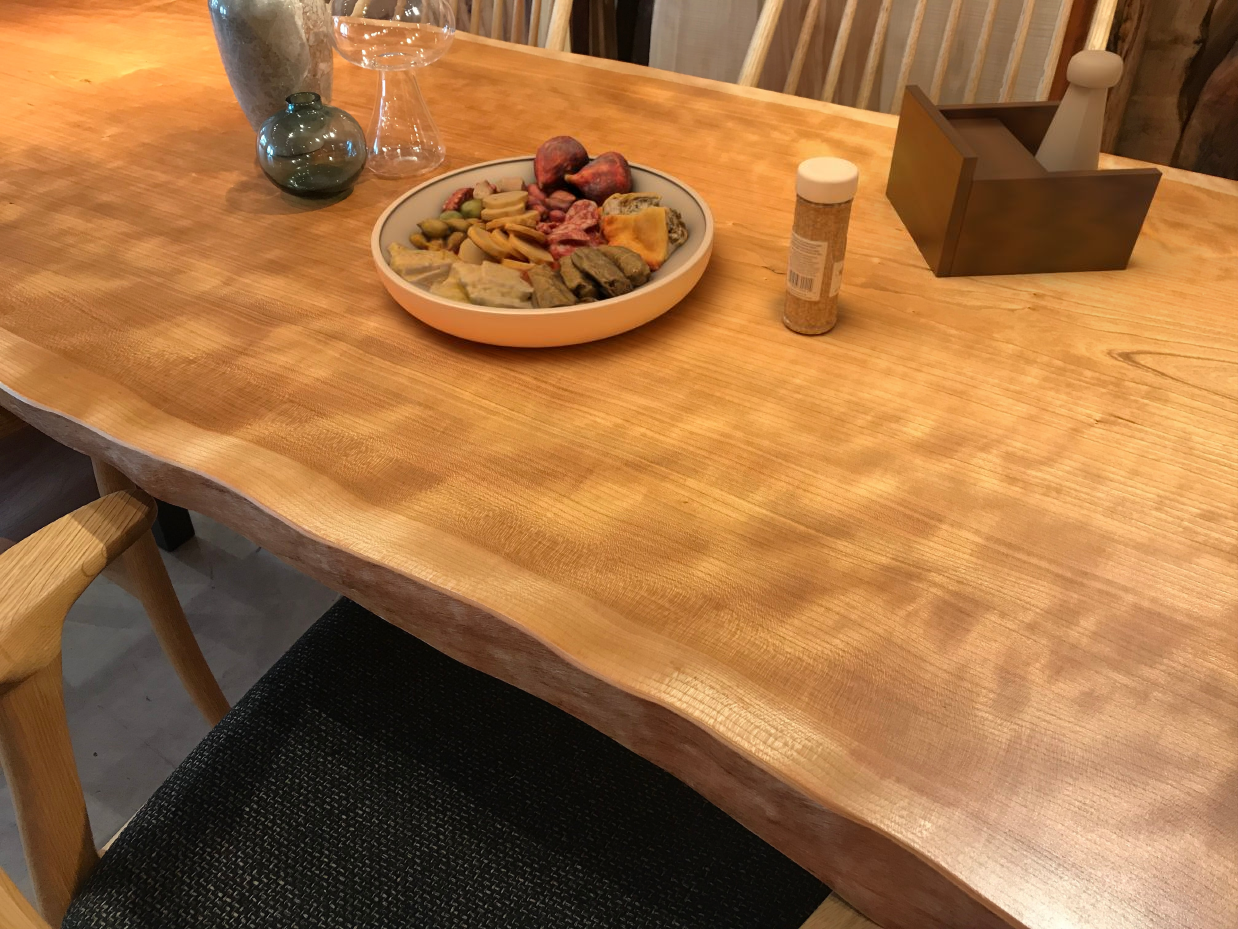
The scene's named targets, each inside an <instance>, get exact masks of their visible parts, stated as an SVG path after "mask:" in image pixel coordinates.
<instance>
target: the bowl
mask: <svg viewBox="0 0 1238 929" xmlns="http://www.w3.org/2000/svg"><path fill="white" fill-rule="evenodd" d="M714 241H715V220H714V215H713V213H712V210H711V207H709V204H708V203H707V201H705V199H704V198H703V197H702V196H701V194H700V193H698V192H697V191H696V190H695V189H694V188H693V187H691V186H689V185H688V184H687V183H685V182H684V181H682V180H680V179H679V178H677V177H675V176H673V175H671V174H669V173H668V172H667V173H666V172H664V171H661V170H658V169H656V168H654V167H651V166H648V165H644V164H641V163H637V162H634V161H633V162H632V161H629V160H627V159H626V158H625V157H624V155H622V153H619V152H617V151H610V150H609V151H606V152H604V153H601V154H600V155H598V156H597V155H589V154H588V152H587V150H586V148H585V147H584V145H583V144H582V143H581V142H580V141H578V140H577V139H576V138H574V137H573V136H571V135H558V136H555V137H552V138H550V139H548V140H545V142H544V143H542V144H541V146H540V147H539V148H538V150H537V152H536V154H532V155H531V154H530V155H520V156H512V157H505V158H504V157H503V158H499V159H493V160H489V161H483V162H479V163H475V164H471V165H467V166H464V167H460V168H457V169H454V170H451V171H448V172H446V173H442V174H440V175H438V176H436V177H435V176H434V177H432V178H430V179H428V180H425V181H424V182H422V183H420V184H418V185H417V186H415V187H412V188H411V189H409V190H408V191H406V192H405V193H403V194H402V195H401V196H399V197H398V198H397V199H395V200H394V201H393V202H392V203H391V204H390V205H388V207H387V208H386V209H385V210H384V211H382V213H381V214H380V216H379V218H378V219H377V221H376V223H375V224H374V226H373V230H372V233H371V238H370V249H371V253H372V259H373V263H374V266H375V268H376V272H377V274H378V276H379V279H380V280H381V282H382V285H384V287H385V289H386V290H387V291H388V293H389V294H390V295H391V297H392V298H393V299H394V300H395V302H397V303H398V304H399V305H400V307H402V308H403V309H405V311H407V312H408V313H409V314H411V315H412V316H413V317H415V318H416V319H418V320H419V321H421V322H423V323H424V324H426V325H428V326H430V327H432V328H434V329H436V330H439V331H440V332H441V331H442V332H443V333H446V334H449V335H452V336H454V337H458V338H461V339H464V340H468V341H472V342H477V343H481V344H482V343H483V344H487V345H493V346H503V347H513V348H551V347H554V348H555V347H563V346H572V345H579V344H584V343H590V342H594V341H599V340H603V339H606V338H610V337H613V336H617V335H620V334H624V333H627V332H628V331H629V332H630V331H631V330H634V329H636V328H638V327H640V326H643V325H645V324H647V323H650V322H651V321H653V320H655V319H657V318H658V317H660V316H662V315H663V314H665V313H667V312H668V311H669V310H670V309H671V308H673V307H675V306H676V305H677V304H679V303H680V302H681V301H682V300H683V299H684V298H685V297H686V296H687V295H688V294H689V293H690V292H691V291H692V290H693V289H694V287H695V286H696V285H697V283H698V282H699V281H700V279H701V277H702V276H703V274H704V272H705V271H706V268H707V266H708V265H709V262H710V259H711V256H712V253H713V247H714Z"/></svg>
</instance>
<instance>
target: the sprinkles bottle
mask: <svg viewBox="0 0 1238 929" xmlns="http://www.w3.org/2000/svg"><path fill="white" fill-rule="evenodd" d="M859 176H860V170H859V168H858V167H857V166H856V165H855V164H854V163H853V162H851V161H849V160H846V159H844V158H839V157H833V156H817V157H813V158H808V159H805V160H804V161H802V162H800V164H799V165H798V167H797V169H796V176H795V184H794V190H795V193H796V194H795V197H796V200H795V206H794V214H793V224H792V227H791V234H790V235H791V236H790V243H789V252H788V261H787V270H786V271H787V272H786V282H785V287H786V290H785V299H784V308H783V311H782V314H781V320H782V322H783V324H784V325H785V326H786V327H787V328H789V329H790V330H792V331H794V332H797V333H800V334H805V335H821V334H822V333H827V332H828V331H830V330H831V329H833V327H834V326H835V325H836V322H837V308H838V301H839V300H838V299H839V294H840V291H841V286H842V278H843V272H844V264H845V257H846V252H847V251H846V250H847V244H848V243H847V242H848V231H849V226H850V219H851V213H852V212H851V211H852V205H853V204H852V203H853V202H854V198H855V196H856V195H857V192H858V187H859V186H858V184H859Z"/></svg>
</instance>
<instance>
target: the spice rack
mask: <svg viewBox="0 0 1238 929" xmlns="http://www.w3.org/2000/svg"><path fill="white" fill-rule="evenodd" d="M1062 100H1063V99H1061V100H1040V101H1034V100H1033V101H1012V102H984V103H983V102H982V103H956V104H954V103H953V104H935V103H933V102H932V100H930V98H929V96H927V94H926V93H925V92H924V91H923V90H922V89H921V87H920V86H919V85H918V84H906V85H905V86H904V91H903V95H902V101H901V106H900V113H899V117H898V124H897V130H896V133H895V139H894V146H893V150H892V157H891V161H890V166H889V172H888V178H887V184H886V190H885V195H886V197H887V199H888V200H889V201H890V204H891V205H892V207H893V208H894V210H895V211H896V214H897V215H898V217H899V218H900V220H901V222H902V223H903V225H904V227H905V228H906V230H907V231H908V233H909V235H910V237H911V238H912V240H913V241H914V244H916V246H917V248H918V250H919V251H920V253H921V255H922V257H923V259H925V262H926V263H927V265H928V266H929V267H930V269H931V271H932V272H933V275H934V276H935V277H936V278H945V277H968V276H969V277H971V276H972V277H973V276H992V275H996V276H997V275H1019V274H1021V275H1023V274H1043V273H1044V274H1045V273H1047V274H1048V273H1066V272H1067V273H1069V272H1093V271H1095V272H1096V271H1119V270H1120V271H1121V270H1126V269H1127V266H1128V264H1129V262H1130V259H1131V256H1132V254H1133V251H1134V249H1135V246H1136V244H1137V241H1138V239H1139V236H1140V234H1141V231H1142V229H1143V226H1144V223H1145V220H1146V217H1147V215H1148V213H1149V210H1150V208H1151V205H1152V202H1153V199H1154V197H1155V194H1156V192H1157V190H1158V186H1159V184H1160V182H1161V179H1162V177H1163V172H1162V171H1161V170H1159V168H1157V167H1138V168H1136V167H1133V168H1112V169H1108V168H1107V169H1098V170H1081V171H1055V172H1048V171H1047V170H1046V169H1045V168H1044V167H1043V166H1042V165H1041V164H1040V163H1039V162H1038V161H1037V160H1036V159H1035V156H1036V154H1037V152H1038V150H1039V148H1040V146H1041V143H1042V141H1043V139H1044V137H1045V135H1046V133H1047V131H1048V129H1049V127H1050V125H1051V123H1052V120H1053V118H1054V116H1055V114H1056V112H1057V110H1058V108H1059V106H1060V104H1061V102H1062Z"/></svg>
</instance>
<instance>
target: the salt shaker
mask: <svg viewBox="0 0 1238 929" xmlns="http://www.w3.org/2000/svg"><path fill="white" fill-rule="evenodd" d="M1123 60H1124V59H1122V57H1121V56H1120V55H1118V54H1117V53H1114V52H1111V51H1108V50H1103V49H1085V50H1081V51H1078V52H1077V53H1075V54H1074V55H1073V56H1072V57H1071V58H1070V61H1069V62H1068V64H1067V69H1066V81H1067V82H1070V83H1069V85H1068V87H1067V89H1066V92H1065V94H1064V96H1063V97H1062V99H1061V100H1062V102H1061V104H1060V106H1059V108H1058V110H1057V112H1056V114H1055V116H1054V118H1053V120H1052V123H1051V125H1050V127H1049V129H1048V131H1047V133H1046V135H1045V137H1044V139H1043V141H1042V143H1041V146H1040V148H1039V150H1038V152H1037V154H1036V156H1035V159H1036V160H1037V161H1038V162H1039V163H1040V164H1041V165H1042V166H1043V167H1044V168H1045V169H1046V170H1047V171H1048V172H1055V171H1081V170H1099V162H1100V154H1101V145H1102V136H1103V127H1104V120H1105V114H1106V113H1105V112H1106V105H1107V98H1108V91H1109V88H1112V87H1114V86H1116V85H1117V83H1119V81H1120V80H1121V76H1122V74H1123V71H1124V61H1123Z"/></svg>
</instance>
